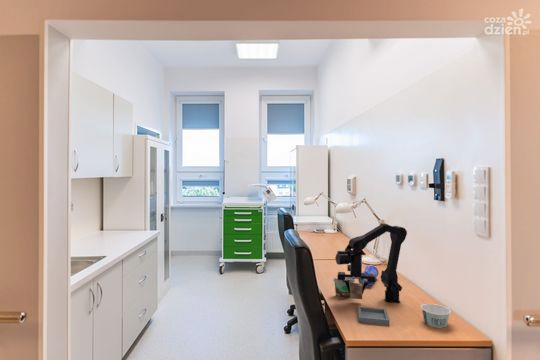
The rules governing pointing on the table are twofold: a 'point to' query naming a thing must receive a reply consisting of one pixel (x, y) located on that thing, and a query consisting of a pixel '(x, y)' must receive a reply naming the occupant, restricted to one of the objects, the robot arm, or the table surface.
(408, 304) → the table surface
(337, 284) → the food container
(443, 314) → the food container
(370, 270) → the pencil case
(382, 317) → the tray
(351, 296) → the cube
